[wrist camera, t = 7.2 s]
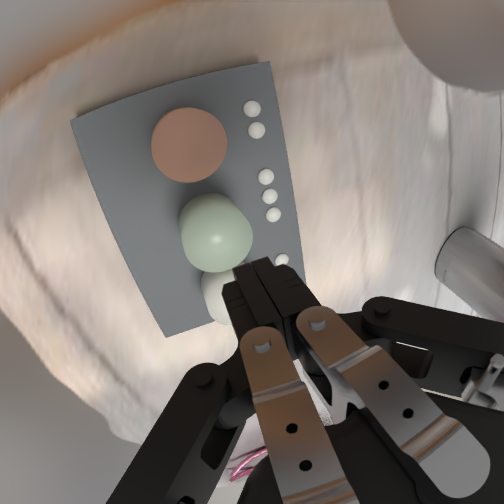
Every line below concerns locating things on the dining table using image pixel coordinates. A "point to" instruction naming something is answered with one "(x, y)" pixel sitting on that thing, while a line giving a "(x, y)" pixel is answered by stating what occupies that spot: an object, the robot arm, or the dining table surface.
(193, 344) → the dining table surface
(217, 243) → the sage button
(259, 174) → the charcoal panel
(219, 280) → the cream button
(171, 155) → the terracotta button
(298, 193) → the dining table surface
